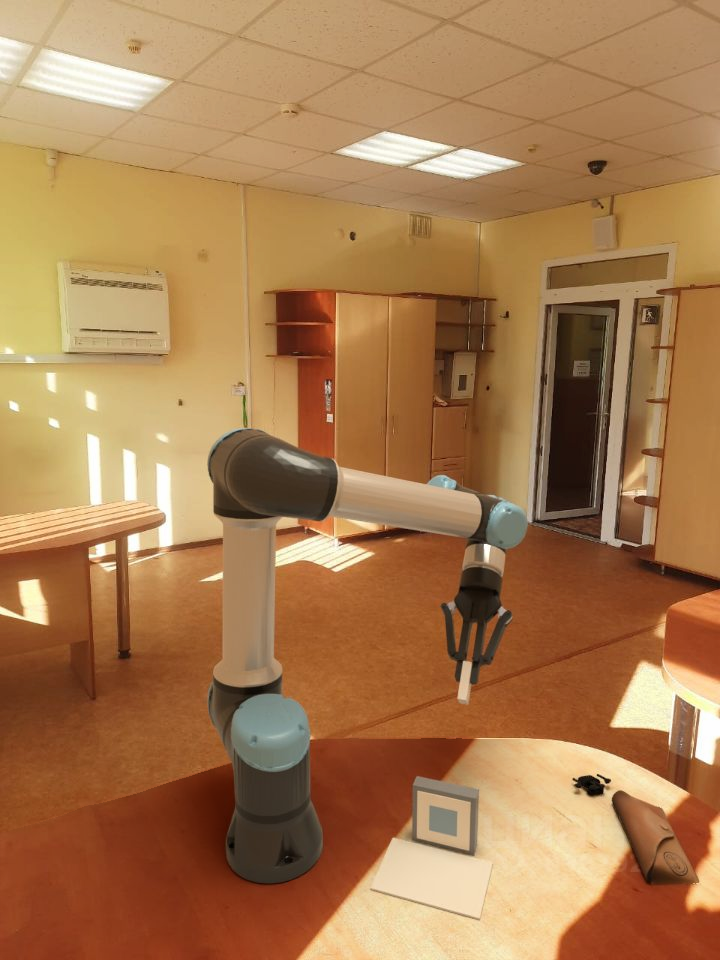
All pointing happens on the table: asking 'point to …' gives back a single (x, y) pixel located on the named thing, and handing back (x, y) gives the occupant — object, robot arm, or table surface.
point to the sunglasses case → (653, 841)
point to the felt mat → (434, 878)
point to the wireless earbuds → (591, 784)
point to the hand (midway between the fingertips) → (462, 701)
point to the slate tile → (445, 815)
